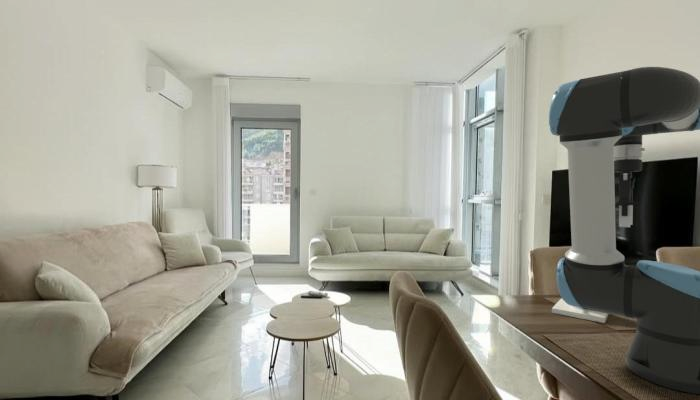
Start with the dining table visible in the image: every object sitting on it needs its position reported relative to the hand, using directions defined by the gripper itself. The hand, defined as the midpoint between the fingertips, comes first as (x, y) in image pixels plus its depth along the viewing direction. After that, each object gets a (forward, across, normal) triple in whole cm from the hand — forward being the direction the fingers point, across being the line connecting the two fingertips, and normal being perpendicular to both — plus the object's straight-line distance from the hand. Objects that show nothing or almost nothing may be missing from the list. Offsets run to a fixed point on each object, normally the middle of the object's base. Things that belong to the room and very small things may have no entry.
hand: (626, 225), depth 112 cm
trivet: (+29, -6, +11) cm, 31 cm away
